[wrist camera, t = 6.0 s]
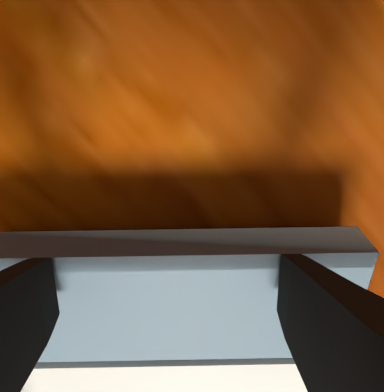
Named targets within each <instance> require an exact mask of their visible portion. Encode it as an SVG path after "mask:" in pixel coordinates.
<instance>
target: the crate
mask: <svg viewBox="0 0 384 392" xmlns="http://www.w3.org/2000/svg"><path fill="white" fill-rule="evenodd" d="M21 392H308V391H307V389H306V387H305V385H304V382H303V380H302V378H301V376H300V373H299V371H298V369H297V366H296V364H295V362H294V359H293V358H254V359H199V360H144V361H88V362H37V364H36V365H35V367H34V369H33V371H32V372H31V374H30V376H29V378H28V379H27V381H26V383H25V385H24V386H23V388H22V390H21Z"/></svg>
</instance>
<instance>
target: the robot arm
mask: <svg viewBox="0 0 384 392" xmlns="http://www.w3.org/2000/svg"><path fill="white" fill-rule="evenodd" d="M277 313H278V317H279V321H280V325H281V328H282V331H283V335H284V338H285V341H286V343H287V345H288V348H289V350H290V353H291V355H292V357H293V359H294V362H295V364H296V366H297V369H298V371H299V373H300V376H301V378H302V380H303V382H304V385H305V387H306V389H307V391H308V392H384V298H382V297H380V296H378V295H376V294H374V293H372V292H370V291H368V290H366V289H364V288H363V287H361V286H359V285H357V284H355V283H353V282H351V281H350V280H348V279H346V278H344V277H342V276H341V275H339V274H337V273H335V272H334V271H332V270H330V269H328V268H327V267H325V266H323V265H321V264H320V263H318V262H316V261H314V260H312V259H311V258H309V257H307V256H305V255H302V254H281V256H280V269H279V283H278V297H277ZM59 314H60V311H59V305H58V298H57V291H56V285H55V278H54V271H53V264H52V258H51V257H44V258H30V259H26V260H24V261H21V262H19V263H16V264H14V265H12V266H10V267H7V268H5V269H3V270H1V271H0V392H21V390H22V388H23V386H24V385H25V383H26V381H27V379H28V378H29V376H30V374H31V372H32V371H33V369H34V367H35V365H36V364H37V362H38V360H39V358H40V357H41V355H42V353H43V351H44V349H45V348H46V346H47V344H48V342H49V340H50V337H51V335H52V332H53V330H54V327H55V325H56V322H57V320H58V317H59Z"/></svg>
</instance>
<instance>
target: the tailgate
mask: <svg viewBox="0 0 384 392" xmlns="http://www.w3.org/2000/svg"><path fill="white" fill-rule="evenodd" d="M281 254H302V255H305V256H307V257H309V258H311V259H312V260H314V261H316V262H318V263H320V264H321V265H323V266H325V267H327V268H328V269H330V270H332V271H334V272H335V273H337V274H339V275H341V276H342V277H344V278H346V279H348V280H350V281H351V282H353V283H355V284H357V285H359V286H361V287H363V288H364V289H366V290H367V289H368V285H369V282H370V279H371V276H372V273H373V270H374V267H375V263H376V260H377V257H378V254H379V252H378V251H377V250H376V248H375V247H374V246H373V245H372V244H371V242H370V241H369V240H368V239H367V238H366V237H365V235H364V234H363V233H362V232H361V231H360V229H359V228H358V227H357V226H356V227H290V228H224V229H159V230H93V231H27V232H0V271H1V270H3V269H5V268H7V267H10V266H12V265H14V264H16V263H19V262H21V261H24V260H26V259H30V258H44V257H51V258H52V264H53V271H54V278H55V285H56V291H57V298H58V305H59V311H60V314H59V317H58V320H57V322H56V325H55V327H54V330H53V332H52V335H51V337H50V340H49V342H48V344H47V346H46V348H45V349H44V351H43V353H42V355H41V357H40V358H39V360H38V362H88V361H144V360H199V359H254V358H293V357H292V355H291V353H290V350H289V348H288V345H287V343H286V341H285V338H284V335H283V331H282V328H281V325H280V321H279V317H278V313H277V297H278V283H279V269H280V256H281Z"/></svg>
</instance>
